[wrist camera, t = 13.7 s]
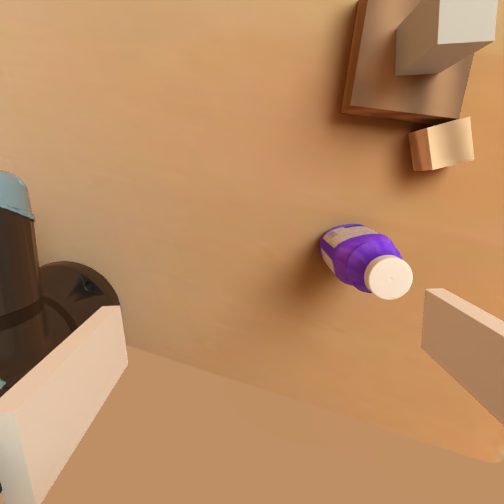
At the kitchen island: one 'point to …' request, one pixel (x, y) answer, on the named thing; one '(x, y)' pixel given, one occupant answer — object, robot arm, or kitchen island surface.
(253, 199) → the kitchen island surface
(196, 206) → the kitchen island surface
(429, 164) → the maple cube
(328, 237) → the bottle
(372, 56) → the walnut block
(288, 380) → the kitchen island surface
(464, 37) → the pale gray block
